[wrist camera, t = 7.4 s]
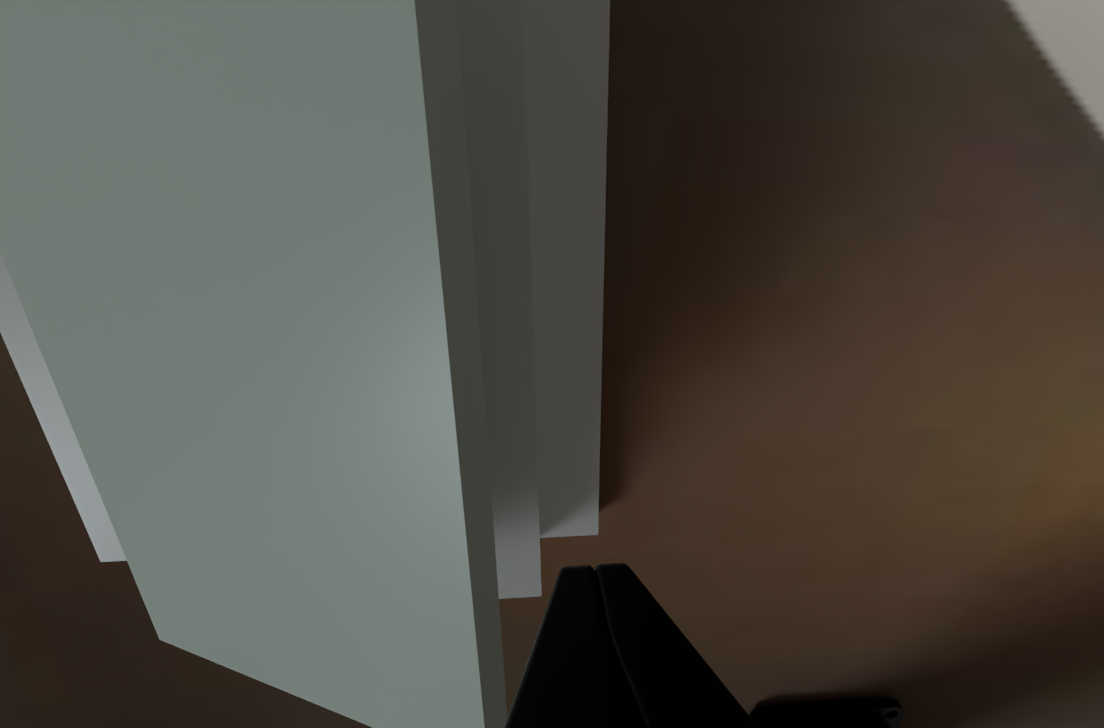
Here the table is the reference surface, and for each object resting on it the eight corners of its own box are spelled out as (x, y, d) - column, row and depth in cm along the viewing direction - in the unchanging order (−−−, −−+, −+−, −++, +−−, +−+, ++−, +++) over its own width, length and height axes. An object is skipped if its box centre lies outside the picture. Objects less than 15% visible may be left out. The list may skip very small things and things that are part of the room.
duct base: (606, -122, 15) (633, -152, 12) (594, 514, 24) (608, 592, 20) (-155, -115, 14) (-336, -146, 11) (116, 540, 23) (55, 624, 20)
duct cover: (443, -173, 8) (396, -193, 7) (508, 735, 16) (489, 775, 15) (-81, -114, 11) (-155, -122, 11) (189, 612, 19) (159, 639, 19)
